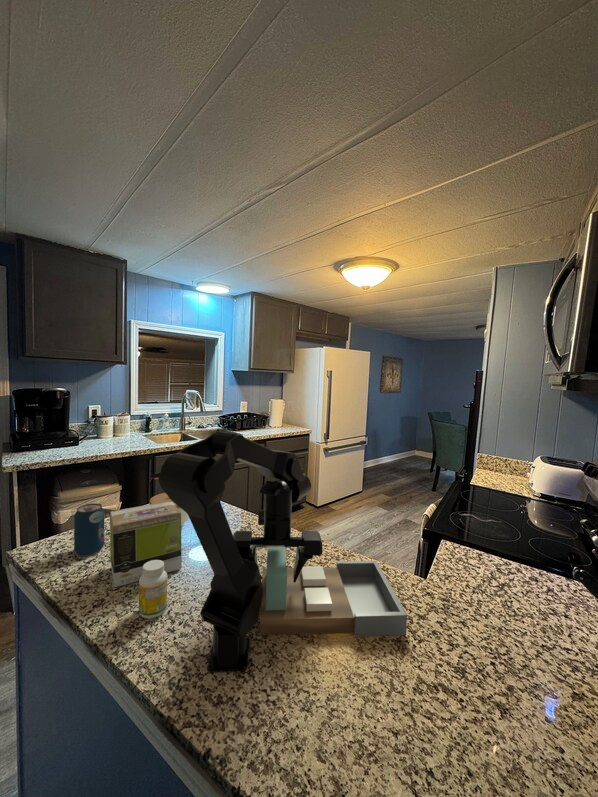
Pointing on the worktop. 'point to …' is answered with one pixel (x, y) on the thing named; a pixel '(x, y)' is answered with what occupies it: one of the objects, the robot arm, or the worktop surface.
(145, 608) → the supplement bottle
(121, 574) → the tea box
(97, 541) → the soda can
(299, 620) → the board
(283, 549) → the tapered teal post
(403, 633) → the tray
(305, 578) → the tile
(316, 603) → the tile
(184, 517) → the lidded bowl
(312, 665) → the worktop surface
